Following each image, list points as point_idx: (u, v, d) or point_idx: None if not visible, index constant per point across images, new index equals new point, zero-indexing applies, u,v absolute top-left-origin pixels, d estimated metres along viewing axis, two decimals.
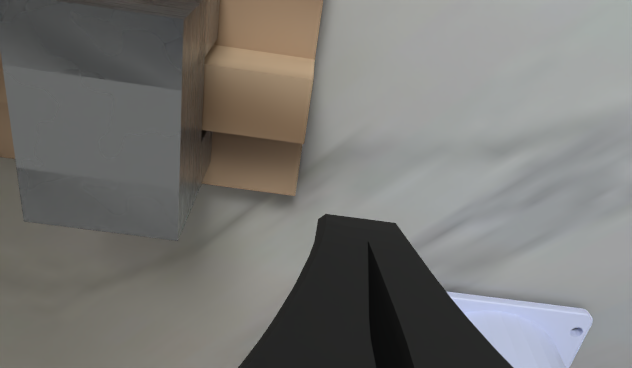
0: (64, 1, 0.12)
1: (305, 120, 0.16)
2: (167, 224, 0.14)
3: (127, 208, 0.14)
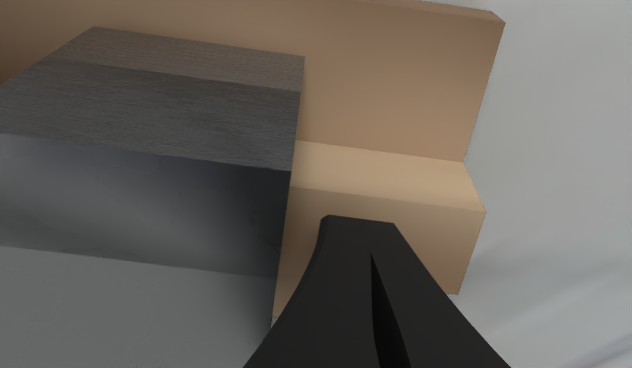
0: (72, 140, 0.06)
1: (465, 265, 0.11)
2: None
3: None
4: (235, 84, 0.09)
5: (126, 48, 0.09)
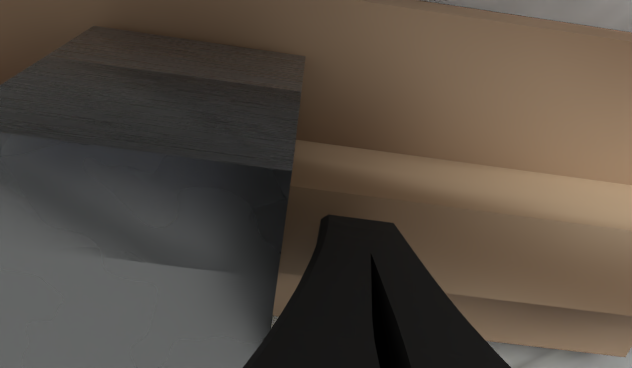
0: (73, 140, 0.06)
1: None
2: None
3: None
4: (236, 84, 0.09)
5: (127, 48, 0.09)
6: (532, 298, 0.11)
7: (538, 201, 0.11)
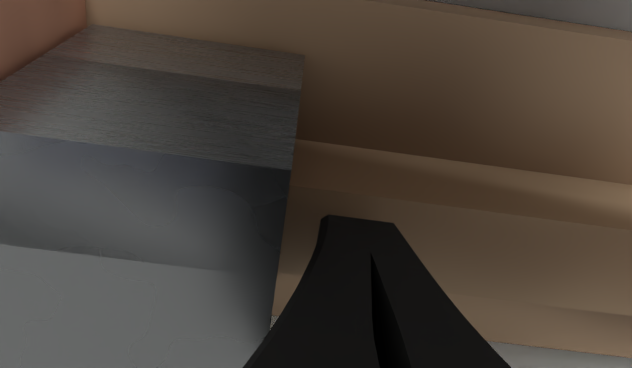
0: (71, 138, 0.06)
1: None
2: None
3: None
4: (235, 83, 0.09)
5: (125, 46, 0.09)
6: None
7: None
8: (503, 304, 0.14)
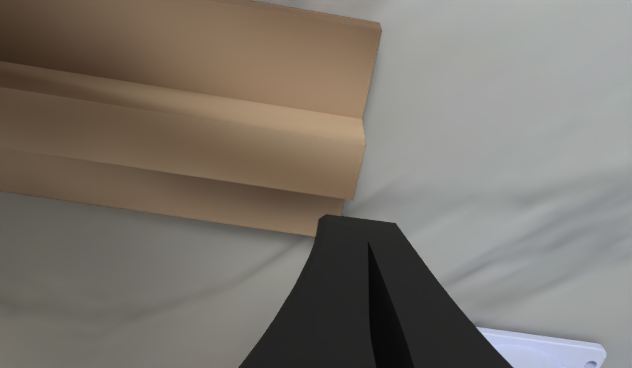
0: None
1: (356, 179, 0.17)
2: None
3: None
4: None
5: None
6: (220, 176, 0.17)
7: (219, 112, 0.17)
8: (107, 177, 0.20)
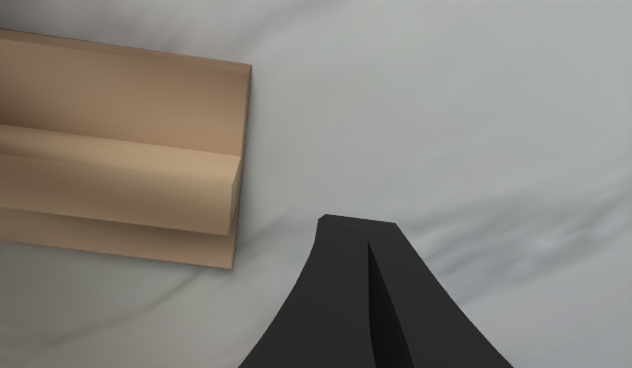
0: None
1: (228, 216, 0.18)
2: None
3: None
4: None
5: None
6: (99, 216, 0.18)
7: (94, 155, 0.18)
8: (7, 214, 0.21)
